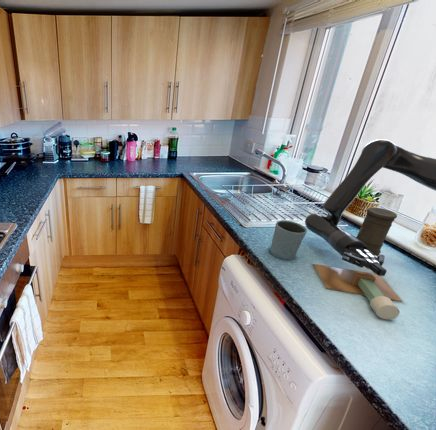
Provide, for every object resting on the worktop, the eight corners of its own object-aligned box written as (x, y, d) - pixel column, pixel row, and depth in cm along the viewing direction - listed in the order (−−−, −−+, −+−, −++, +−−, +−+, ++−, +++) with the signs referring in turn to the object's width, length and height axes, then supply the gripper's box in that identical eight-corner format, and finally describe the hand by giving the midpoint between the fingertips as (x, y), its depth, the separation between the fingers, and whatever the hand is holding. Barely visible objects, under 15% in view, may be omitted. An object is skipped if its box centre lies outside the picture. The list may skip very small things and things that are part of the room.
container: (381, 254, 112) (402, 213, 104) (373, 262, 107) (394, 218, 99) (354, 245, 118) (371, 204, 111) (345, 251, 114) (362, 209, 106)
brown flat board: (378, 275, 99) (378, 274, 99) (401, 302, 87) (402, 300, 87) (313, 265, 104) (313, 263, 104) (326, 288, 92) (327, 287, 92)
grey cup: (270, 244, 117) (278, 218, 112) (298, 252, 112) (308, 225, 107) (266, 255, 110) (274, 227, 105) (296, 264, 105) (306, 235, 100)
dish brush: (373, 273, 92) (402, 307, 78) (367, 286, 94) (395, 321, 80) (355, 270, 93) (381, 303, 79) (349, 283, 95) (373, 317, 81)
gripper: (329, 233, 100) (364, 261, 85) (369, 236, 100) (412, 264, 84) (323, 252, 104) (355, 282, 88) (361, 254, 103) (401, 285, 87)
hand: (383, 273), depth 86 cm, fingers closed
